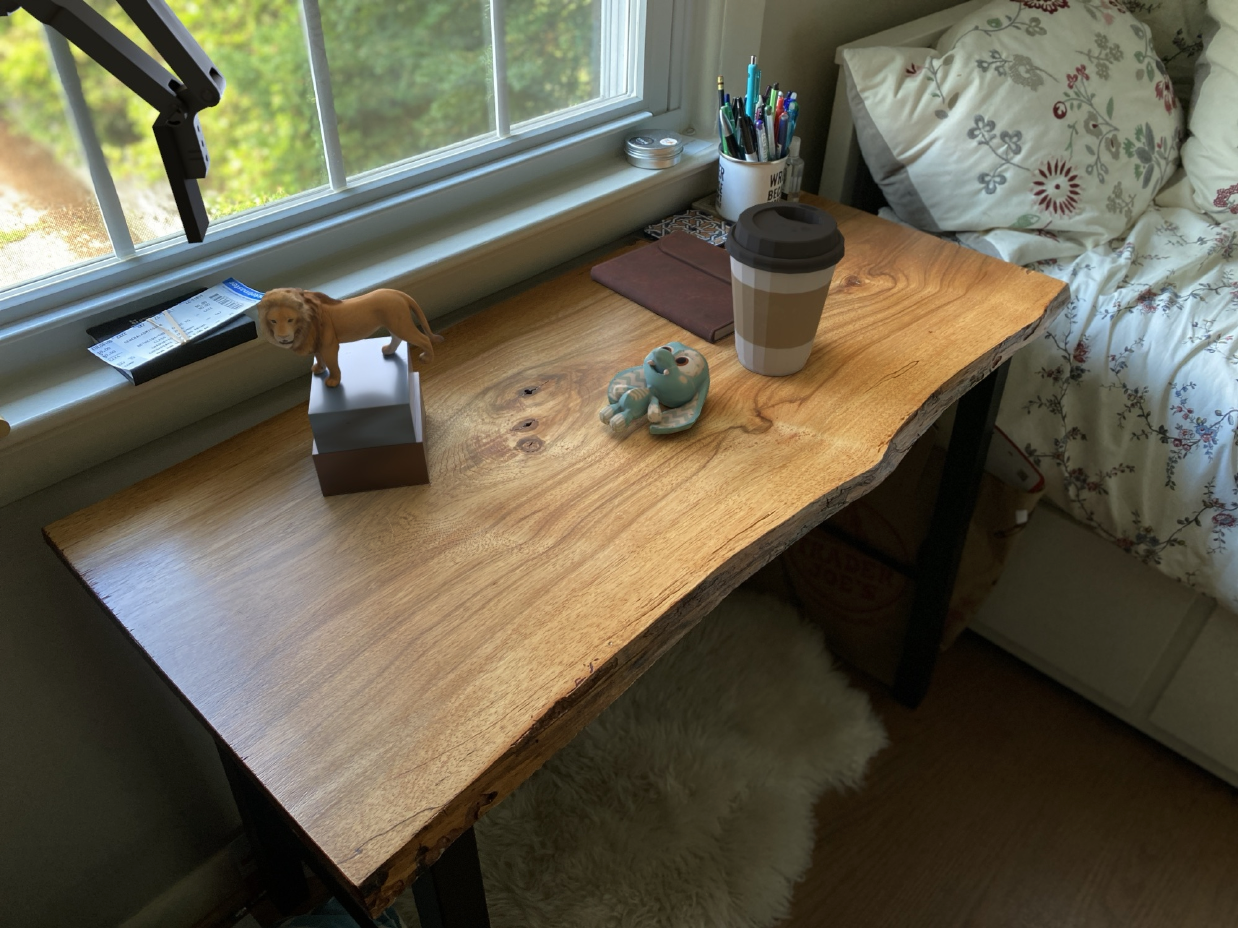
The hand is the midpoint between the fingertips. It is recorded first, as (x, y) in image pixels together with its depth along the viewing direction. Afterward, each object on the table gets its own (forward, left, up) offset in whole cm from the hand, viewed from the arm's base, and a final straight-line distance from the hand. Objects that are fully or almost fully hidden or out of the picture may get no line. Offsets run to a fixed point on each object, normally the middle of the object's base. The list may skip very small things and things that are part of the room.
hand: (72, 244), depth 52 cm
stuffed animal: (+38, +17, -29) cm, 51 cm away
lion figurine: (+12, +16, -20) cm, 29 cm away
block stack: (+12, +16, -29) cm, 35 cm away
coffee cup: (+52, +24, -29) cm, 64 cm away
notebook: (+48, +40, -29) cm, 69 cm away
